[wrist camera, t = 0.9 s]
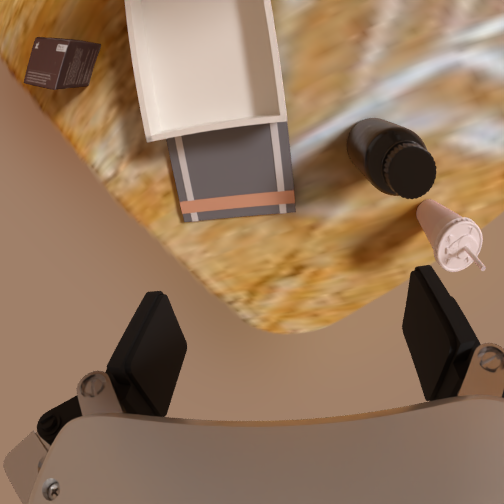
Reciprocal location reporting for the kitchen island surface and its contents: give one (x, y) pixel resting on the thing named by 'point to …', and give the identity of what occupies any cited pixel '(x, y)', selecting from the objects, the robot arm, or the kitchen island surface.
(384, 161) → the supplement bottle
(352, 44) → the kitchen island surface
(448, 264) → the smoothie
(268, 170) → the rail board
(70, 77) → the box
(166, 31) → the white tray
